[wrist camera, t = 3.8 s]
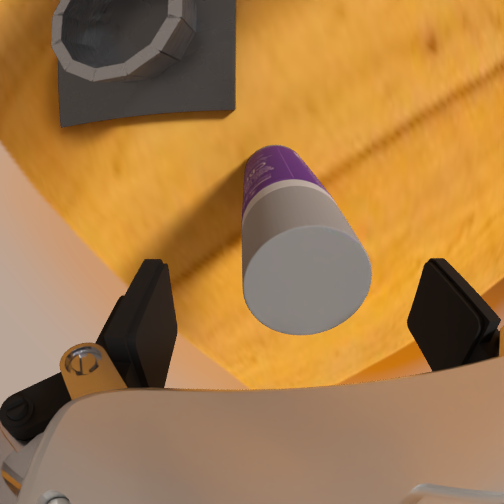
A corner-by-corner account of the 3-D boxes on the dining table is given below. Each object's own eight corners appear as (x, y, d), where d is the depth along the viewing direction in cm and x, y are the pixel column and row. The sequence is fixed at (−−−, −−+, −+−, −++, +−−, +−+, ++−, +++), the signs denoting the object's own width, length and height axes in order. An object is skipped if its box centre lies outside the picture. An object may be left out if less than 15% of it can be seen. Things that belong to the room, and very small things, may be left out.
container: (251, 138, 22) (254, 207, 9) (312, 152, 23) (395, 238, 10) (239, 196, 24) (228, 329, 11) (297, 208, 25) (346, 343, 12)
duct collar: (237, -53, 15) (234, -90, 9) (235, 109, 21) (231, 113, 16) (70, -22, 15) (32, -39, 9) (66, 126, 21) (24, 138, 16)
